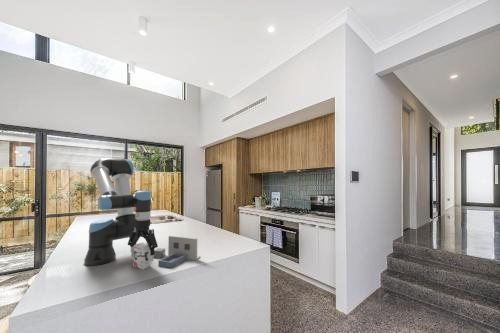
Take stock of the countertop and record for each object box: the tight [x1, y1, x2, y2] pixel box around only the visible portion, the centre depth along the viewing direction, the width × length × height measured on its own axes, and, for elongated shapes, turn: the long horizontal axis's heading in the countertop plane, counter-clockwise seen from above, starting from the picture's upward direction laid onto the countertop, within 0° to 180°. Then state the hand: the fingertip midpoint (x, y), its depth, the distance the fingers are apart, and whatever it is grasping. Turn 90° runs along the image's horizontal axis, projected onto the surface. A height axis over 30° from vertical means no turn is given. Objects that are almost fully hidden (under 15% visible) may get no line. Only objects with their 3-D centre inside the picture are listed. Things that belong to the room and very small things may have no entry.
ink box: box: [132, 242, 152, 270], centre depth 119 cm, size 8×5×12 cm, turn 60°
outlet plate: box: [167, 235, 201, 261], centre depth 133 cm, size 20×5×12 cm, turn 69°
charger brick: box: [153, 247, 166, 259], centre depth 134 cm, size 6×5×4 cm
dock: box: [157, 253, 187, 269], centre depth 123 cm, size 9×13×3 cm
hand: (142, 259), depth 118 cm, fingers open, 12 cm apart
